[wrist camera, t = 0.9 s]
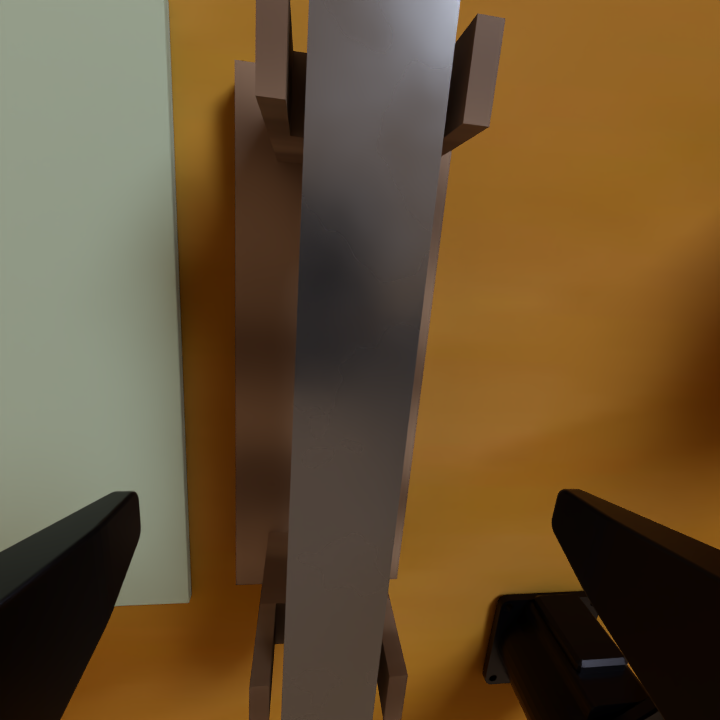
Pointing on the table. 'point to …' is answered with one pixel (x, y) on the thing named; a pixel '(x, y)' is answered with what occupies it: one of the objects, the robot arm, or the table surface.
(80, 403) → the rubber mat
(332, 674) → the hang rail
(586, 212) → the table surface
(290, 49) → the hook stand
